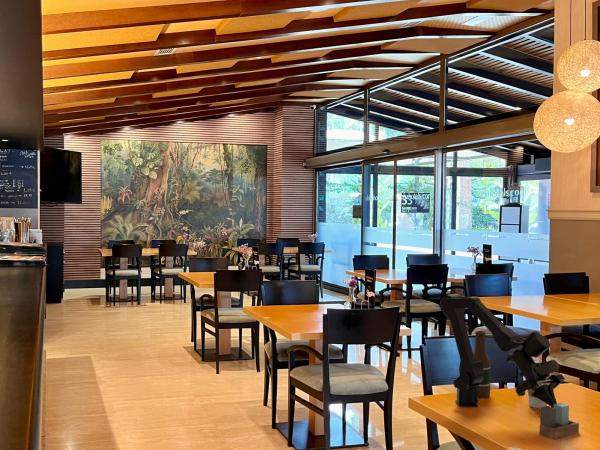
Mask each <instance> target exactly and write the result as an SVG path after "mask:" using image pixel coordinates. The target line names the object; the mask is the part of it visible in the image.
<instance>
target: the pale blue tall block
mask: <svg viewBox="0 0 600 450" xmlns="http://www.w3.org/2000/svg"><path fill="white" fill-rule="evenodd" d="M554 408H556V423H560V424H563V425H569V420H570V418H569V417H570V404H566V403H563V402H557V404H554Z"/></svg>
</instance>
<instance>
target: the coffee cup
mask: <svg viewBox="0 0 600 450" xmlns="http://www.w3.org/2000/svg"><path fill="white" fill-rule="evenodd" d="M539 363H540V364H541V365H543V364H547V363H548V362H539ZM549 375H550V376H551V373H550V374H549ZM550 376H549V377H550ZM549 377H547V378H546V379H548V378H549ZM532 393H533V391H532V389H530V390H527V395H528V406H529V407H531V408H534V409H541V407H545V406H548V404H546V403H545V402H543V401H541V400H540V399H538V398H536V397H534V396H531V394H532Z"/></svg>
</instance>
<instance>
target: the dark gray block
mask: <svg viewBox="0 0 600 450" xmlns="http://www.w3.org/2000/svg"><path fill="white" fill-rule="evenodd" d="M539 417H540V421H539V423H540V424H542V425H545V426H548V427H551V428H556V408H553V407H551V406H549V405H547V406H545V407H541V408H540V416H539ZM540 424H539V425H540Z"/></svg>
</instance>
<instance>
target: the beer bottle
mask: <svg viewBox="0 0 600 450" xmlns="http://www.w3.org/2000/svg"><path fill="white" fill-rule="evenodd" d="M474 334H475V341H474V342H475V343H474V350H473V355H474V357H475V359H476V360H477V361H482V365H483V369H484V371H485V372H484V378H483V380H482V381H481V382H480V384H479V386H477V387H476V388H477V392H478V399H487V398H489V397H490V396H491V376H492V375H491V372H492V371H491V360H490V357H489V355H488V354H487V351H486V336H485V335H486V332H485V331H484V330H476V331H475V332H474Z"/></svg>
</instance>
